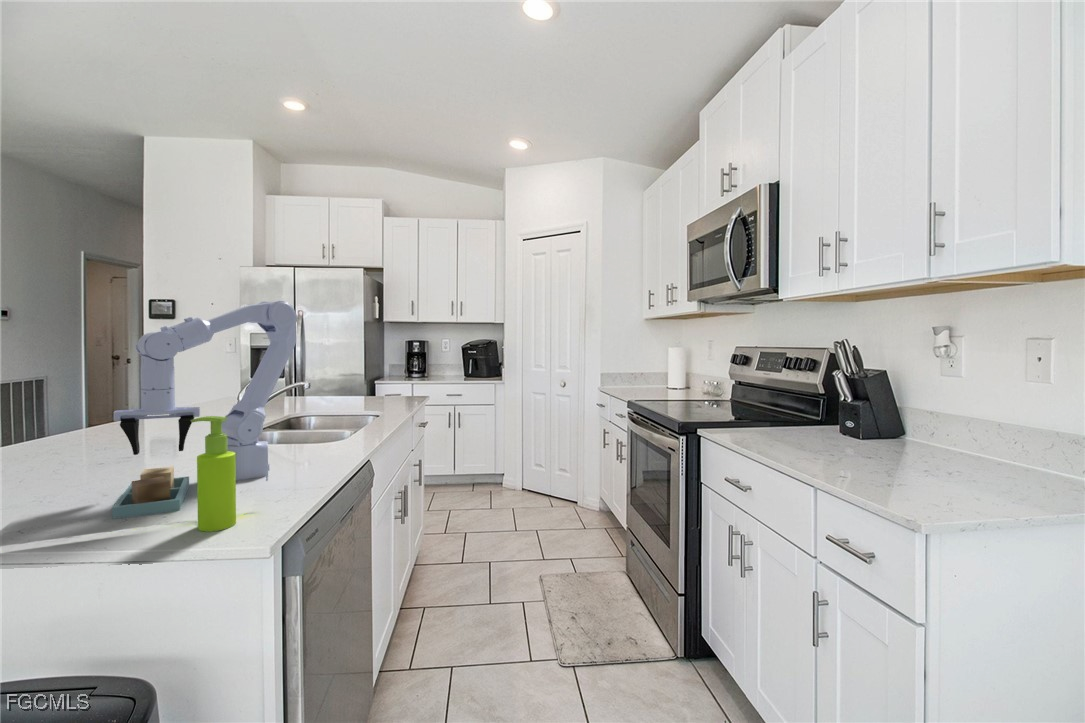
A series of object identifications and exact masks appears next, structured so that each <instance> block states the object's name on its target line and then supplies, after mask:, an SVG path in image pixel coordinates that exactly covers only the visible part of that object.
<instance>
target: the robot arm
mask: <svg viewBox="0 0 1085 723" xmlns="http://www.w3.org/2000/svg"><path fill="white" fill-rule="evenodd" d="M298 319H299V316H298V315H297V312H296V310H295V308H294V306H293V305H292V304H290V303H289V302H287V301H285V300H277V301H261V302H259V303H254V304H253V303H252V304H248V305H244V306H242V307H239V308H236V309H233V310H231V311H228V312H226V313H223V314H221V315H218V316H216V317H212V318H210V319H208V320H205V319H203V318H200V317H195V318H193V317H191V316H190V317H186V318H184V319H183V322H181V323H177V324H174V325H171V326H166V325H164V326H160V331H155V332H153V331H151V332H147V333H145V334H142V335H141V337H139V338H138V341H137V344H135V350H136V352H137V354H139V356H140V403H141V405H140V406H141V408H136V409H134V408H133V409H122V410H121V409H120V410H115V411H113V422H120V423H119V427H120V428H121V430H122V431H123V433H124V434H125V435H126V437H127V439H128V441H129V444H130V446H131V449H132V453H133V454H132V455H134V456H137V455H139V454H140V440H139V439H140V438H139V436H140V435H139V431H140V430H139V429H140V428H139V427H140V426H139V425H140V420H151V419H154V420H155V419H173V418H175V419H176V418H178V419H177V420H178V434H179V435H178V436H179V438H178V452H183V451H184V449H185V443H186V438H187V436H188V432H189V430H190V428H191V425H192V423H193V422H191V421H190V420H193V419H195V418H200V417H201V407H200V406H187V407H186V406H185V407H184V406H182V407H181V406H180V407H177V406H176V392H175V391H176V390H175V389H176V388H175V387H176V383H175V382H176V381H175V377H176V376H175V362H174V361H175V358H174V357H175V356H177V354H178V353H181V352H185V351H187V350H191V349H192V348H195V347H197V346H201V345H203V344H206V343H208V342H211V340H212V338H213V336H214V334H217V333H220V332H222V331H225V330H229V329H232V328H234V327H238V326H240V325H244V324H246V323H249V324H250V323H252V324H257V325H258V326H259V327H260V328H261V329H262V330H263V331H264V332H265V334H266V336H267V337H268V339H269V342H270V343H269V345H268V346H267V349H266V351H265V353H264V354H263V357H262V358H261V360H260V363H259V364H258V367H257V368H256V371H255V372H254V374H253V376H252V378H251V380H250V382H249V384H248V385H247V387H246V390H245V392H244V393H243V396H242V397H241V399H240V400H239V401H238V402H237V403H236V404H234V405H233V406H232V408H231V410H230V411H229V412H228V414H226V415H224V417H227V420H226V421H223V422H222V433H224V434H227V451H231V452H235V463H236V481H239V480H247V479H248V480H249V479H253V478H254V479H255V478H261V477H265V481H268V480H269V472H270V463H269V446H268V445H269V444H268V441H265V440H259V439H260V438H261V436H262V435H263V430H264V422H265V419H266V415H267V414H266V410H265V407H266V405H267V403H268V401H269V399H270V397H271V394H272V393H273V391H274V390H275V386H276V385H277V383H278V381H279V379H280V377H281V375H282V373H283V370H284V368H285V366H286V364H287V362H288V361H289V359H290V356H291V354H292V353H293V350H294V349H295V347H296V344H297V326H296V324H297V322H298Z"/></svg>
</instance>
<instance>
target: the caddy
mask: <svg viewBox="0 0 1085 723" xmlns="http://www.w3.org/2000/svg"><path fill="white" fill-rule="evenodd" d="M189 487H190V476H181V477H174V488H170V500H164V501H156V502H147V503H139V504H132V482H131V483H130V484H129V485H128V487H127V488H126V489H125V491H124V492H123V493H122V495H121V496H120V497H119V498H118V500H117V501H116V503H115V504H114V505H113V506H112V508H111V510H112V514H111V515H112V519H113V520H115V519H122V518H130V517H138V516H145V515H155V514H161V513H167V512H168V513H170V512H177V511H180V510H181V508H182V505H183V503H184V500H185V497H186V496H187V492H188V491H189Z"/></svg>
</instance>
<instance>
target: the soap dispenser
mask: <svg viewBox="0 0 1085 723" xmlns="http://www.w3.org/2000/svg"><path fill="white" fill-rule="evenodd" d="M226 420H227V417H225V416H218V415H208V416H206V415H205V416H202V417H201V416H199V417H195V418H194V419H193V420H190V421H191V422H192V423H195V422H196V423H197V422H198V423H199V422H210V433H208V434H207V435H206V436H205V437H204V441H205V442H204V448H205V449H204V453H201V454H198V455H197V456H196V478H197V479H196V485H197V486H196V487H197V490H196V491H197V492H196V493H197V494H196V495H197V529H198V531H201V532H217V531H223V530H227V529H229V528H231V527H234V526H235V525H236V523H237V498H236V497H237V492H236V491H237V490H236V489H237V488H236V487H237V486H236V485H237V484H236V481H237V480H236V463H235V452H231V451H227V434H224V433H222V422H223V421H226Z"/></svg>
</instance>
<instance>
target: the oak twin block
mask: <svg viewBox="0 0 1085 723" xmlns="http://www.w3.org/2000/svg"><path fill="white" fill-rule="evenodd" d="M139 476H140V477H139V480H143V479H149V478H155V477H162V476H163V477H165V478H166V479H167V480H169V481H170V488H174V478H175V467H174V466H169V467H158V468H157V467H155V468H145V469H144V470H142V472H141V474H140V475H139Z"/></svg>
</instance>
